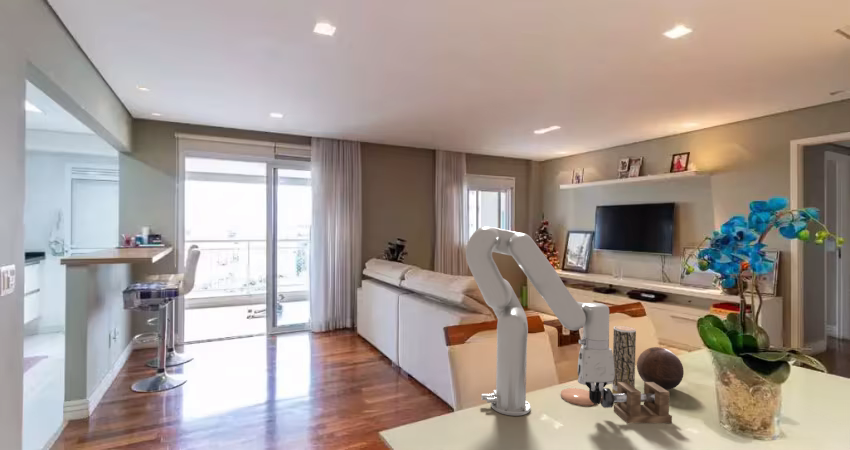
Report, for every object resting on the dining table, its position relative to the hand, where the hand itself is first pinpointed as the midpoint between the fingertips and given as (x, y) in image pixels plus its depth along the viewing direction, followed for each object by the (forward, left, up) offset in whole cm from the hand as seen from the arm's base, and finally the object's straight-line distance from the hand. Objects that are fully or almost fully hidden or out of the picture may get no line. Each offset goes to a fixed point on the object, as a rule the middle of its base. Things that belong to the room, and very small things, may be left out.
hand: (594, 402), depth 128 cm
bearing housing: (+15, 0, -5) cm, 16 cm away
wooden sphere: (+35, +22, -5) cm, 42 cm away
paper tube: (+15, +11, -5) cm, 20 cm away
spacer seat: (+1, +14, -5) cm, 15 cm away
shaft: (+13, 0, -2) cm, 13 cm away
